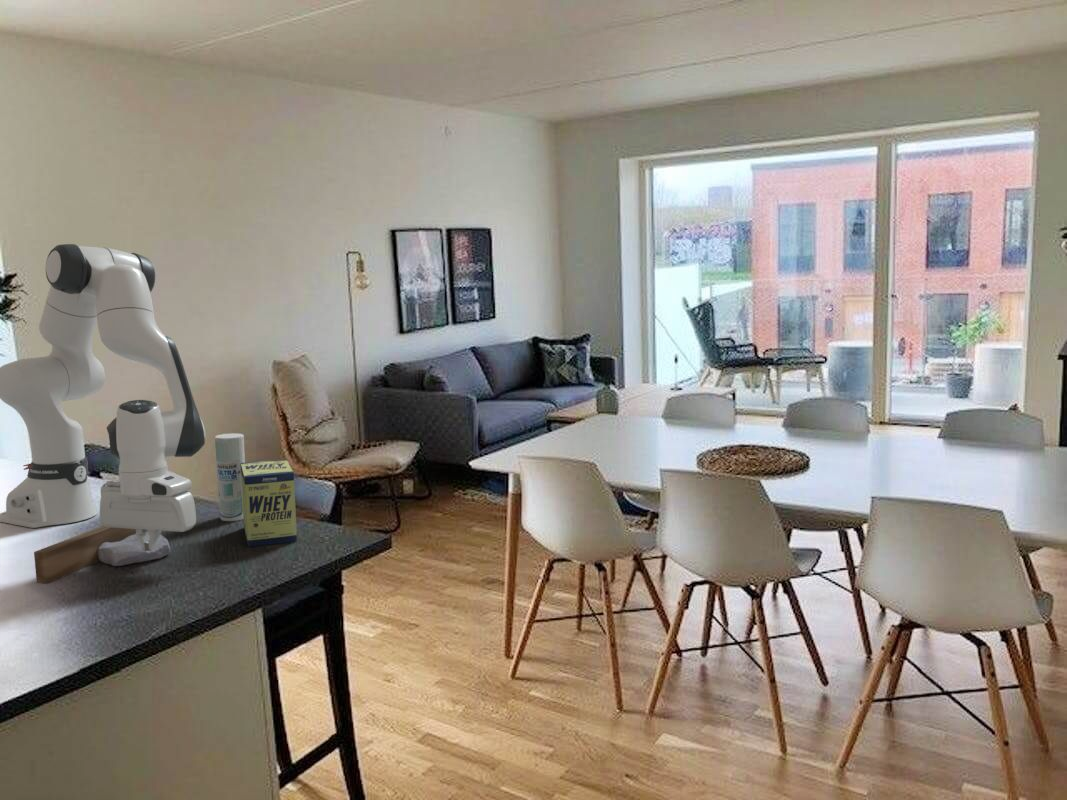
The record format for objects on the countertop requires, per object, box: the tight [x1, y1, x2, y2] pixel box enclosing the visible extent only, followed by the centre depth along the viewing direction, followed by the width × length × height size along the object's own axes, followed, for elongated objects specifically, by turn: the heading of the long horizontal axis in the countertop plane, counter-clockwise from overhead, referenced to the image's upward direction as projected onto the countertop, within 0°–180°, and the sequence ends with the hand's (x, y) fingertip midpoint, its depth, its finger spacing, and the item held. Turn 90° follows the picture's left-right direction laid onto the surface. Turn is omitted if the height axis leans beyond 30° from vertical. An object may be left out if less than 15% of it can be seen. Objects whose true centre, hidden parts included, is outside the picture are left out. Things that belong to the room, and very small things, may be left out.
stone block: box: [98, 532, 171, 567], centre depth 176 cm, size 12×5×10 cm
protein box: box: [240, 459, 298, 548], centre depth 192 cm, size 10×16×16 cm
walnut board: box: [33, 525, 136, 584], centre depth 176 cm, size 2×28×6 cm, turn 165°
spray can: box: [214, 432, 246, 522], centre depth 205 cm, size 6×6×20 cm
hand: (149, 550), depth 172 cm, fingers closed
